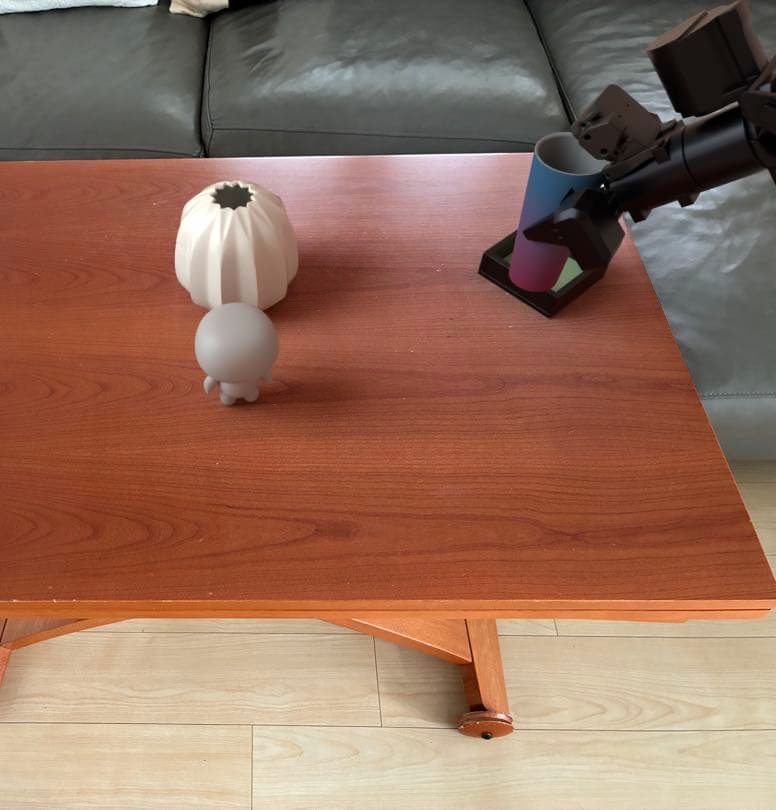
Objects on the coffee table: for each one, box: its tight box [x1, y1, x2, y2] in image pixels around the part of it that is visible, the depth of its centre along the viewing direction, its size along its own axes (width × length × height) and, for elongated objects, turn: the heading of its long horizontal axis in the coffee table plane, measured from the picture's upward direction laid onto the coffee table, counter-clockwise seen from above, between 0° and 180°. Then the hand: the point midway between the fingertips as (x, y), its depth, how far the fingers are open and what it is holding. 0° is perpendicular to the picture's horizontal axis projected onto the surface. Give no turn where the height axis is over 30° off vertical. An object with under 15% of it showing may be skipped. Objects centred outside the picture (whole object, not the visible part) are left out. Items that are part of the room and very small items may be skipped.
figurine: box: [194, 303, 280, 406], centre depth 76 cm, size 8×8×12 cm
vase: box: [174, 179, 300, 312], centre depth 86 cm, size 14×14×13 cm
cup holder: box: [477, 228, 613, 320], centre depth 89 cm, size 10×10×3 cm
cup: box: [509, 131, 611, 292], centre depth 76 cm, size 7×7×15 cm
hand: (538, 218), depth 77 cm, fingers closed on cup, 6 cm apart
